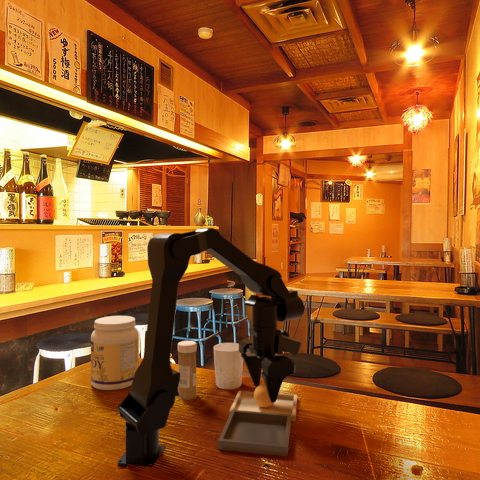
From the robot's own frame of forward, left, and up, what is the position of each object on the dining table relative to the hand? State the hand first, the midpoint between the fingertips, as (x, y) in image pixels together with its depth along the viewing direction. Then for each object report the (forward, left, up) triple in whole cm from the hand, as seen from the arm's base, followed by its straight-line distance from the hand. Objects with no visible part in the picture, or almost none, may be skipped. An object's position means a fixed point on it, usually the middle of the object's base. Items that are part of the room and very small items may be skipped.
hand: (264, 393), depth 86 cm
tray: (0, 0, -4) cm, 4 cm away
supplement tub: (+9, +41, -4) cm, 42 cm away
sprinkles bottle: (+3, +19, -4) cm, 20 cm away
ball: (0, 0, -3) cm, 3 cm away
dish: (-12, 0, -4) cm, 13 cm away
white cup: (+13, +11, -4) cm, 17 cm away
